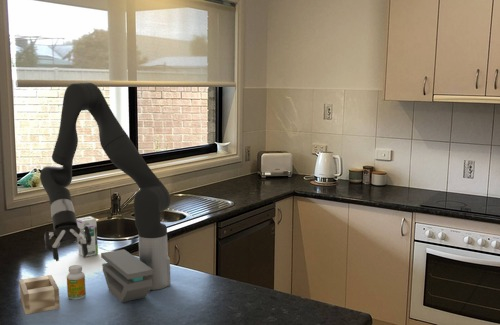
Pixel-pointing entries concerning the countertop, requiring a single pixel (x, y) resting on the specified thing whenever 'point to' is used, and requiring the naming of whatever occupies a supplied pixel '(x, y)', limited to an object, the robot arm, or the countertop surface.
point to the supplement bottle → (76, 282)
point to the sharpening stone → (126, 275)
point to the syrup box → (92, 227)
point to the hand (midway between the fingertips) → (71, 257)
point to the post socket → (39, 294)
